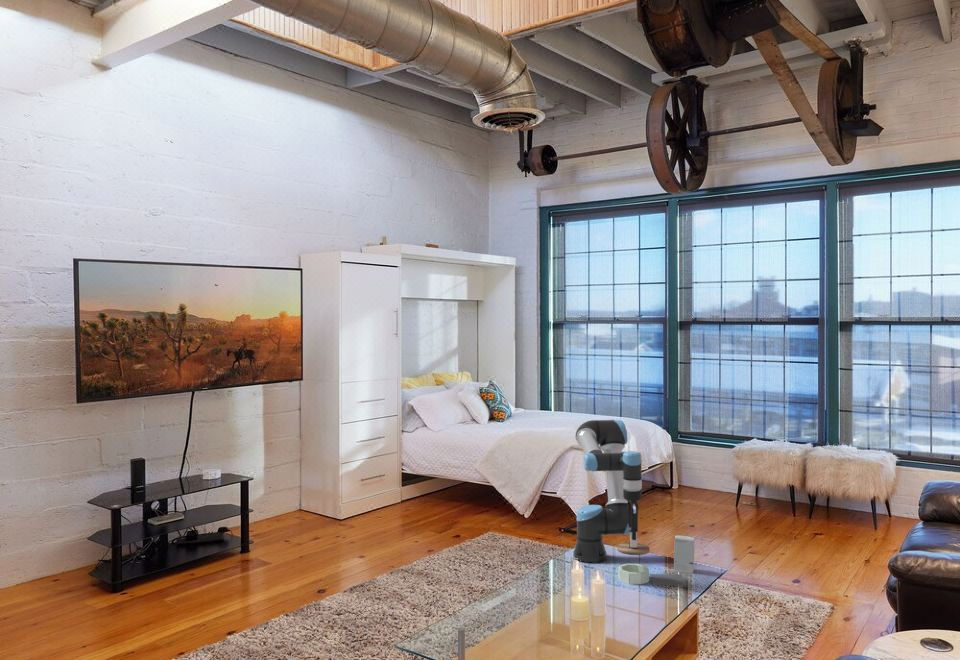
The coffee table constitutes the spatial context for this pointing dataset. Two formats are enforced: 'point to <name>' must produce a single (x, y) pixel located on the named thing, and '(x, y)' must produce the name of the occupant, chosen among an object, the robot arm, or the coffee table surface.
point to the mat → (668, 579)
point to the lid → (629, 550)
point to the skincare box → (683, 554)
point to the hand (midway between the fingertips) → (633, 545)
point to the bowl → (633, 573)
